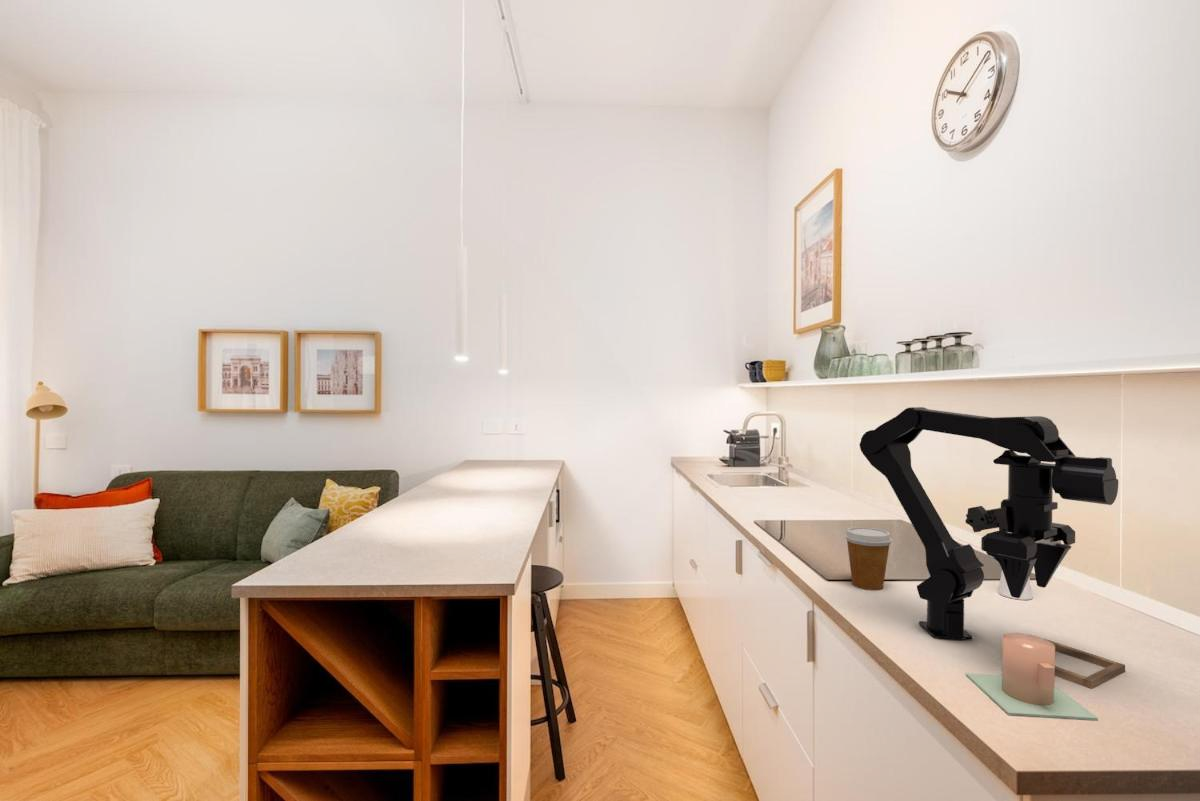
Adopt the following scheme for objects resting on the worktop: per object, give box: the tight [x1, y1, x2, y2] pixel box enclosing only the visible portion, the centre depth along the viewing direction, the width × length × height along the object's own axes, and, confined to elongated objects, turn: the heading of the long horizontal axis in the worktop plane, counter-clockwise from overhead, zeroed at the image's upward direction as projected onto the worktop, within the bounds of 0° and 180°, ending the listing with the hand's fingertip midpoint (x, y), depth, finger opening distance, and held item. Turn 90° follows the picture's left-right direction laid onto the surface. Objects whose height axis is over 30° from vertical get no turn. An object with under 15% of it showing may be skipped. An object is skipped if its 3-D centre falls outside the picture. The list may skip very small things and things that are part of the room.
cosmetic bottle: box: [997, 532, 1034, 601], centre depth 124 cm, size 6×6×22 cm
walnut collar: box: [1042, 637, 1126, 689], centre depth 92 cm, size 11×11×1 cm
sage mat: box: [965, 672, 1099, 721], centre depth 83 cm, size 11×11×1 cm
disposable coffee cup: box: [844, 526, 893, 591], centre depth 130 cm, size 10×10×12 cm
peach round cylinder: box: [1001, 632, 1056, 705], centre depth 82 cm, size 7×6×8 cm
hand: (1028, 591), depth 94 cm, fingers open, 9 cm apart
